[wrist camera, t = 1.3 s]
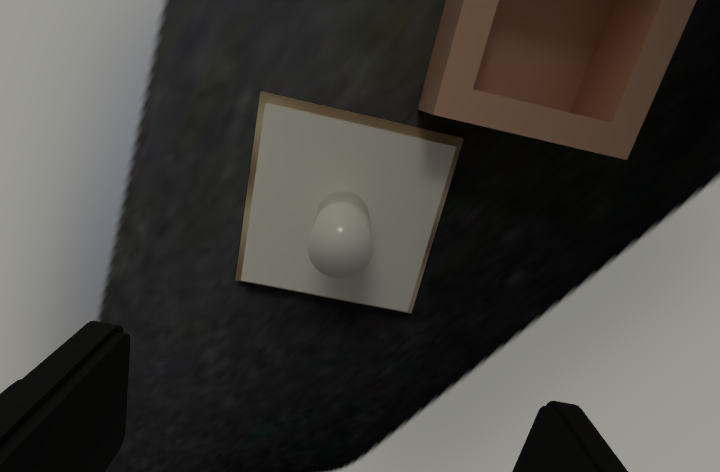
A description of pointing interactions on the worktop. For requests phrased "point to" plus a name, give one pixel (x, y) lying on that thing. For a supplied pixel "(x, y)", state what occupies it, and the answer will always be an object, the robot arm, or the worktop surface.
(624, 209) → the worktop surface
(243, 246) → the mat
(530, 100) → the dish
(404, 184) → the lid
